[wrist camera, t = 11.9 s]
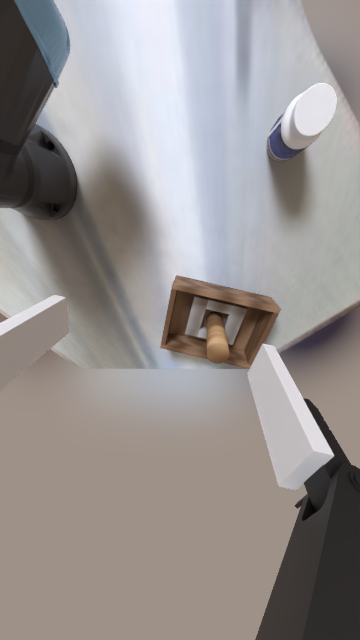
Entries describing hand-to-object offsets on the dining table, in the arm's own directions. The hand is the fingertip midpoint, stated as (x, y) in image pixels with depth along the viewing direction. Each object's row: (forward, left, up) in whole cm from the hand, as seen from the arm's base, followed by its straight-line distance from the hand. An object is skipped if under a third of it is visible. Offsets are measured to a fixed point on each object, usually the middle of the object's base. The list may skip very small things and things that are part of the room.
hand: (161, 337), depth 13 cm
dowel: (+9, -13, -32) cm, 36 cm away
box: (+9, -13, -33) cm, 36 cm away
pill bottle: (+11, +21, -33) cm, 41 cm away
